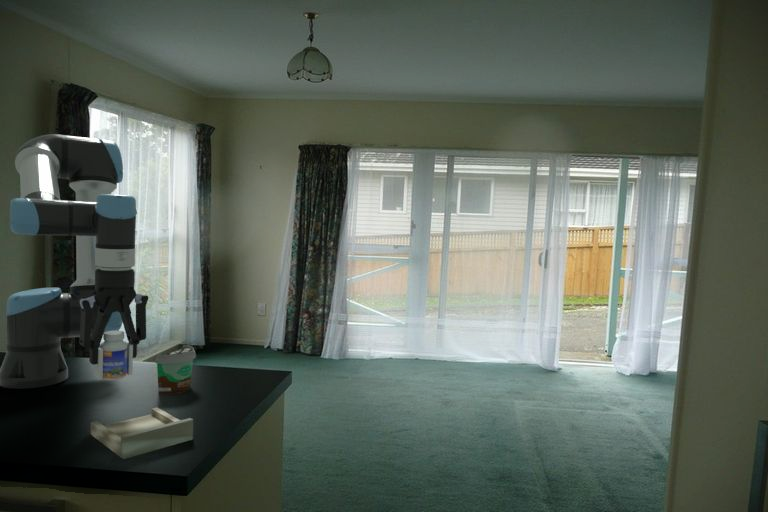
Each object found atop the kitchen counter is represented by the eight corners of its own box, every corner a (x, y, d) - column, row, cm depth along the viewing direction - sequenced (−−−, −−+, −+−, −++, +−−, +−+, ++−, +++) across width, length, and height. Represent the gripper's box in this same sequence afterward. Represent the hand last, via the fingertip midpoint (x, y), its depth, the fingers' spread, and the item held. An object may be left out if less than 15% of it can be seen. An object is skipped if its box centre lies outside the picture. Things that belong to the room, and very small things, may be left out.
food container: (177, 398, 131) (178, 357, 131) (154, 395, 132) (155, 355, 132) (204, 384, 143) (205, 346, 143) (183, 381, 144) (184, 344, 144)
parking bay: (90, 434, 108) (90, 414, 108) (156, 418, 118) (157, 400, 118) (123, 459, 98) (123, 437, 98) (192, 439, 108) (193, 419, 108)
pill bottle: (97, 381, 113) (98, 336, 113) (99, 373, 118) (100, 329, 118) (126, 380, 116) (127, 335, 115) (127, 372, 121) (128, 329, 120)
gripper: (73, 272, 105) (72, 389, 108) (166, 268, 119) (163, 372, 121) (60, 267, 110) (59, 379, 112) (150, 264, 124) (148, 364, 126)
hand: (113, 375), depth 117 cm, fingers closed on pill bottle, 5 cm apart
